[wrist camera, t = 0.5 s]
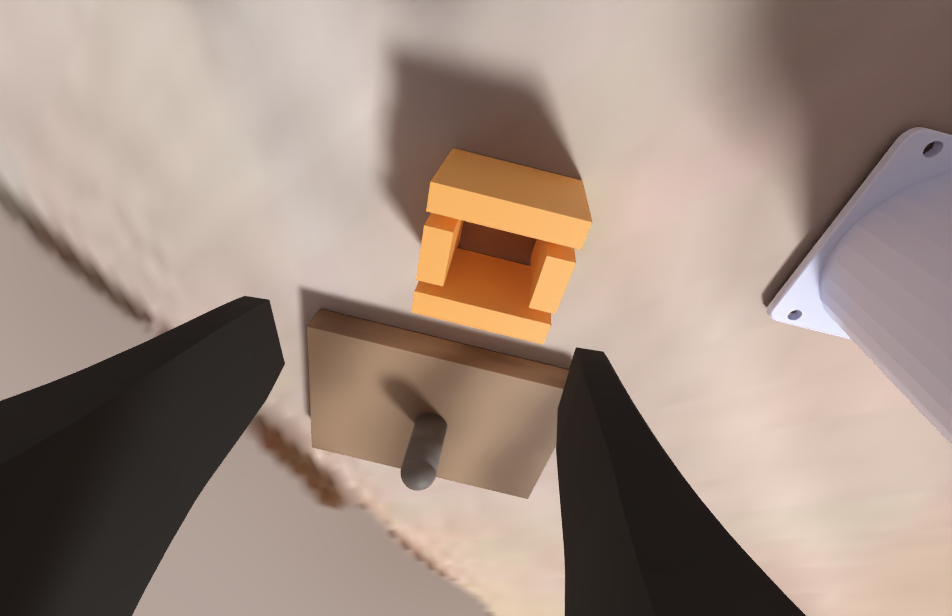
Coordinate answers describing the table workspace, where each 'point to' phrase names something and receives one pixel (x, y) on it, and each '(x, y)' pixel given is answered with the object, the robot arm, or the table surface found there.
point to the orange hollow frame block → (489, 278)
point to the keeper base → (431, 405)
